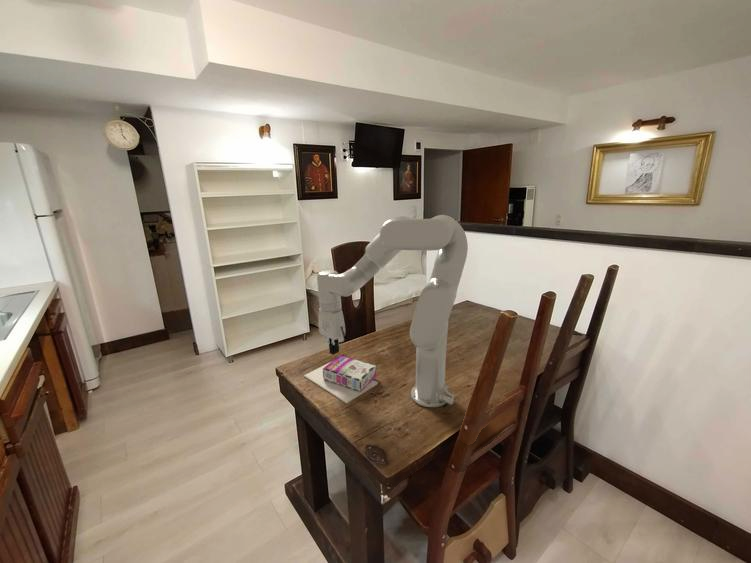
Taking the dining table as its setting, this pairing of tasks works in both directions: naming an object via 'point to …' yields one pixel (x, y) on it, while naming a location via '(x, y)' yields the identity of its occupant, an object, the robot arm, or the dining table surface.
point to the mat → (336, 386)
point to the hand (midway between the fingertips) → (334, 352)
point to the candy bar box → (349, 373)
